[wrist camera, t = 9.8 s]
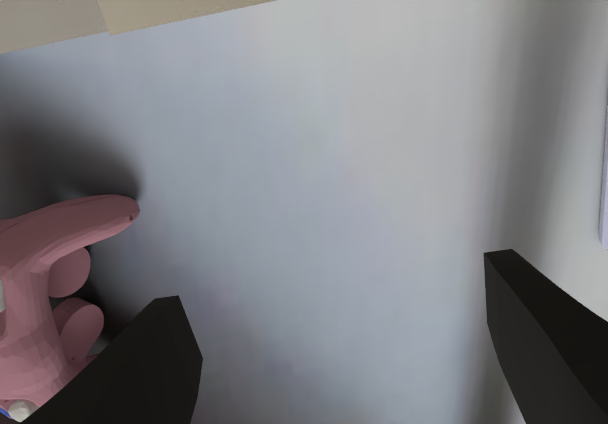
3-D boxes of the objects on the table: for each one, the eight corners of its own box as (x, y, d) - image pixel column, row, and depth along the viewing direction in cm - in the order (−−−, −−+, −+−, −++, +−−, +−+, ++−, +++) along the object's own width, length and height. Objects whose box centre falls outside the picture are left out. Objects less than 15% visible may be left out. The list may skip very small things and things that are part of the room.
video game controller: (69, 167, 24) (-101, 242, 18) (148, 190, 22) (-17, 282, 16) (108, 339, 28) (-17, 439, 23) (176, 371, 26) (56, 488, 21)
